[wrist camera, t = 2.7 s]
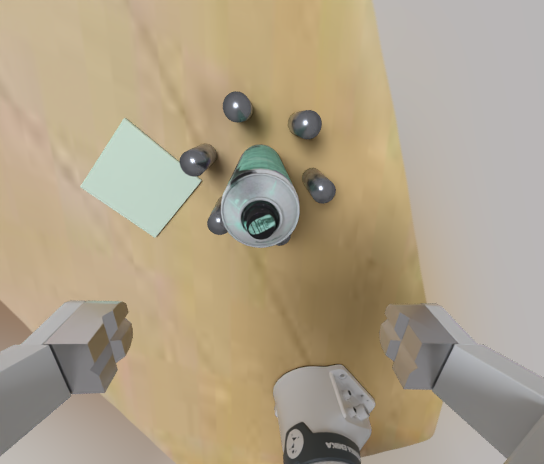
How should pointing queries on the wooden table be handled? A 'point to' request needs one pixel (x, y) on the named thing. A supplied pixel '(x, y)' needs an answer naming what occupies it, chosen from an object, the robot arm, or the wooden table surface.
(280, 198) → the spray can
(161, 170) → the mat
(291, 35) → the wooden table surface
